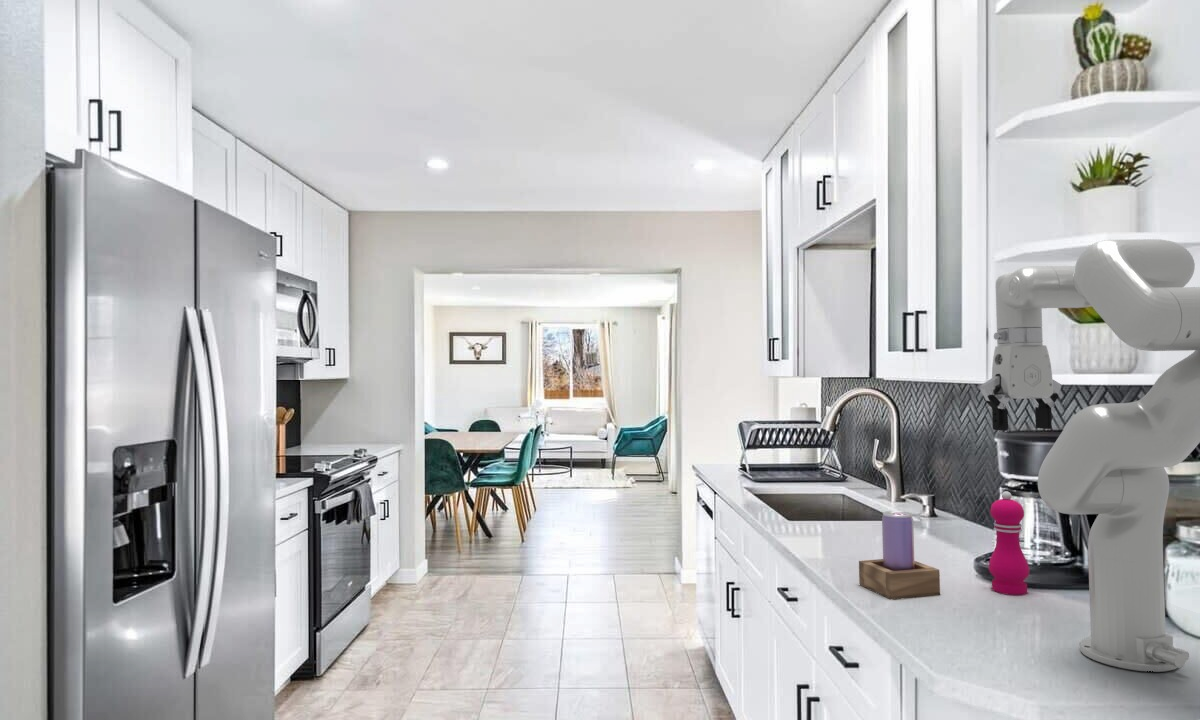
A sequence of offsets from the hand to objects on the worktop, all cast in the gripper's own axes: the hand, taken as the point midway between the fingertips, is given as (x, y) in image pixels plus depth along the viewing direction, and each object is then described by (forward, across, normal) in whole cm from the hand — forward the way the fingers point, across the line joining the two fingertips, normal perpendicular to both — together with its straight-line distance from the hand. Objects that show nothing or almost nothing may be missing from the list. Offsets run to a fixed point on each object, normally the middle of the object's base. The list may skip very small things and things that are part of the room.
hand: (1022, 429), depth 142 cm
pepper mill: (+34, +5, +10) cm, 35 cm away
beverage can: (+33, -16, +17) cm, 40 cm away
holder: (+33, -16, +17) cm, 40 cm away
